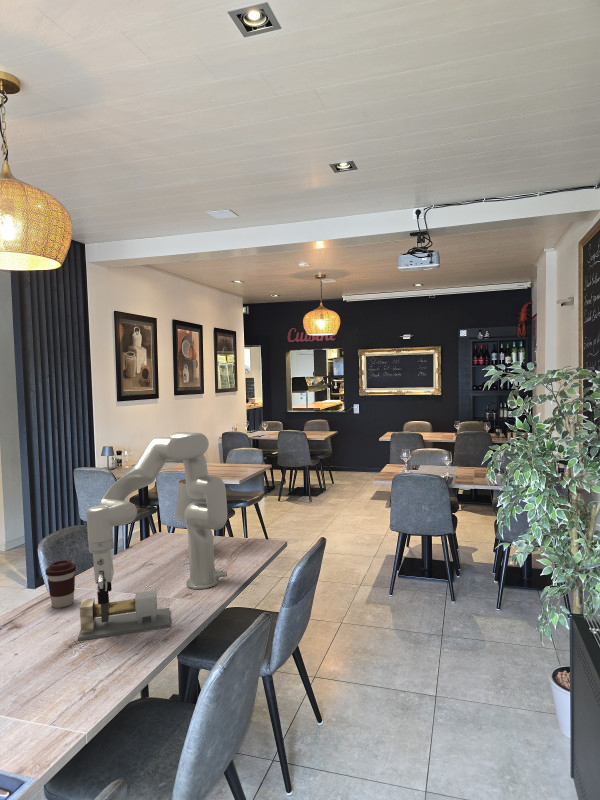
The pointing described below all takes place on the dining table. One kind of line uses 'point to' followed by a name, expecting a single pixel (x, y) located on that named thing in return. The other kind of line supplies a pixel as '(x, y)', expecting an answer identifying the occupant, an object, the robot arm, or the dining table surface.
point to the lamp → (183, 500)
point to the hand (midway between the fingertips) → (105, 597)
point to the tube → (113, 609)
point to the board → (126, 625)
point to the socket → (87, 615)
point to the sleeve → (146, 605)
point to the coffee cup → (61, 583)
